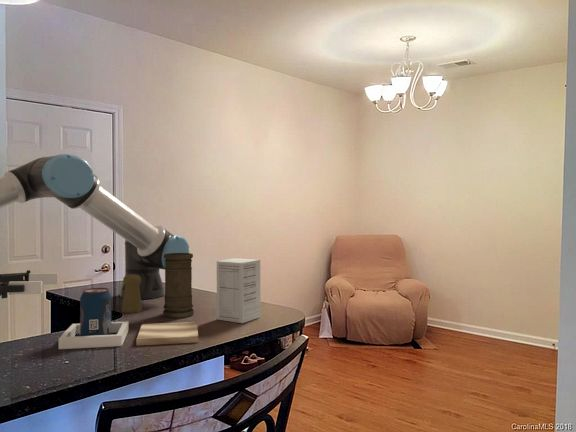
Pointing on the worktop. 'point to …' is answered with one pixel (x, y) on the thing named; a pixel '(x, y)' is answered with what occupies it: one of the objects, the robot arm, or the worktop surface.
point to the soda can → (95, 312)
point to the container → (178, 285)
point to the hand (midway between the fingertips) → (50, 282)
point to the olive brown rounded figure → (132, 294)
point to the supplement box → (238, 290)
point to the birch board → (167, 333)
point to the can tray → (93, 337)
